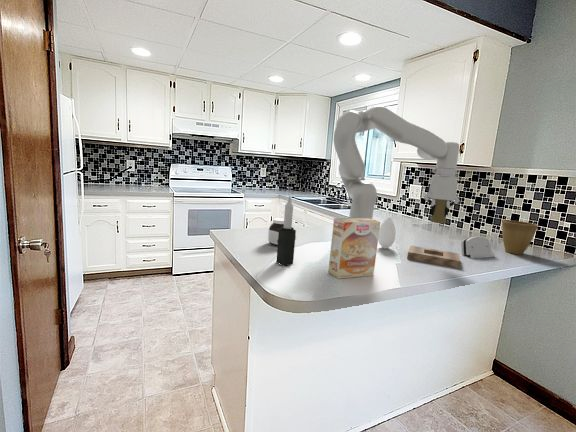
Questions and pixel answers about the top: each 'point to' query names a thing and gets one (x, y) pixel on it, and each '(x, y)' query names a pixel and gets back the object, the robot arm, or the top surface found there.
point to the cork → (439, 212)
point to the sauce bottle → (387, 233)
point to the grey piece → (477, 247)
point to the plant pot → (517, 235)
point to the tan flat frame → (434, 256)
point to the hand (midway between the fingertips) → (438, 215)
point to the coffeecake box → (353, 247)
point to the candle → (286, 237)
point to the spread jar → (275, 231)
